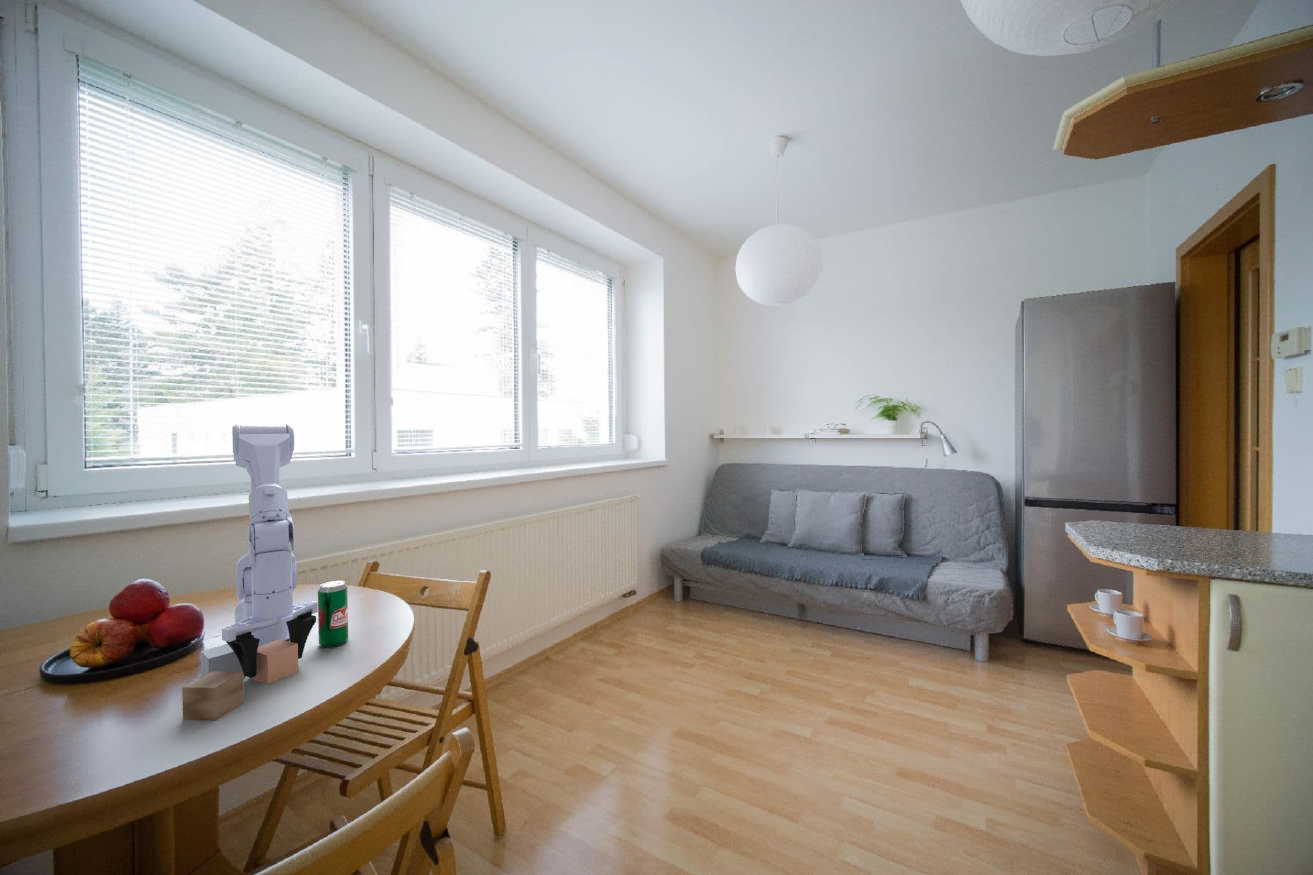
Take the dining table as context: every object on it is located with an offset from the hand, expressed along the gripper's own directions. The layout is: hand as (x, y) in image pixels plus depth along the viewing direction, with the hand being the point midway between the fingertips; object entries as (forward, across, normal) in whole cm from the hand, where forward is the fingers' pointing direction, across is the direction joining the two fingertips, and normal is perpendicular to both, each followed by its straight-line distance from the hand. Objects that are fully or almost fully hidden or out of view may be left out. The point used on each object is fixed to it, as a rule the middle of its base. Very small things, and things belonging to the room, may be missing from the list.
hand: (274, 666), depth 91 cm
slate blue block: (+2, -4, +7) cm, 8 cm away
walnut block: (+2, -11, -4) cm, 12 cm away
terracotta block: (+2, 0, 0) cm, 2 cm away
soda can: (+2, +13, +3) cm, 13 cm away
